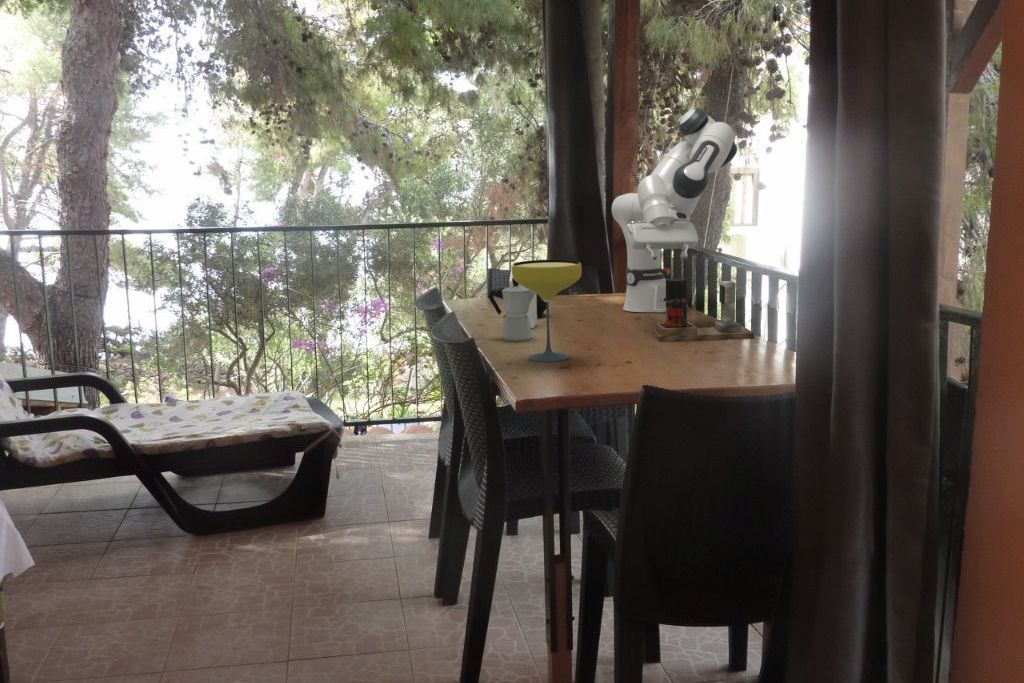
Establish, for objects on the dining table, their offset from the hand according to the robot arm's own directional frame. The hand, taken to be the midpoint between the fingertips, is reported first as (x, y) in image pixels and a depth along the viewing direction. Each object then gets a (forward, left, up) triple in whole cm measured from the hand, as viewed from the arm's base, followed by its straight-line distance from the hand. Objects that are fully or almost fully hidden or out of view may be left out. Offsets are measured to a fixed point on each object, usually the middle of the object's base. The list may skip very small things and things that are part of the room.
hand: (669, 258), depth 283 cm
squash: (+16, -51, -22) cm, 58 cm away
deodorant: (+5, +9, -20) cm, 23 cm away
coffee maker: (+41, -21, -22) cm, 51 cm away
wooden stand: (-1, +12, -22) cm, 25 cm away
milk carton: (+28, -35, -22) cm, 50 cm away
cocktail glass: (+49, +8, -22) cm, 54 cm away
